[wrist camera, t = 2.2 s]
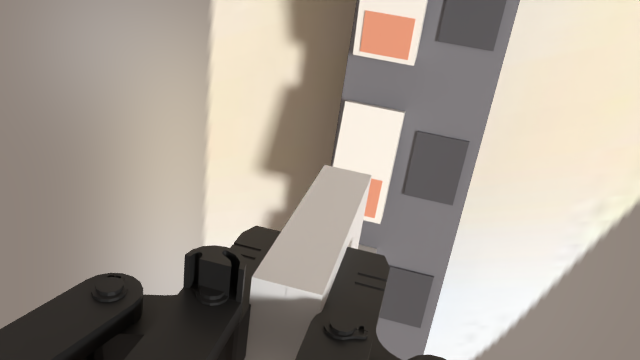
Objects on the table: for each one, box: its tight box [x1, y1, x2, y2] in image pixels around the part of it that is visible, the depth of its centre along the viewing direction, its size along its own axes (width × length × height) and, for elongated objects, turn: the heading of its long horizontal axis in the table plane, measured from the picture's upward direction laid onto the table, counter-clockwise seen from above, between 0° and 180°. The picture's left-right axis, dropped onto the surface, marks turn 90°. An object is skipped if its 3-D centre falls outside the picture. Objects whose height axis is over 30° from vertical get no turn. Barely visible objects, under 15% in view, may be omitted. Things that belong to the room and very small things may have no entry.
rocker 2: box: [333, 100, 405, 224], centre depth 35 cm, size 7×4×2 cm, turn 172°
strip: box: [331, 0, 520, 360], centre depth 36 cm, size 40×9×4 cm, turn 172°
